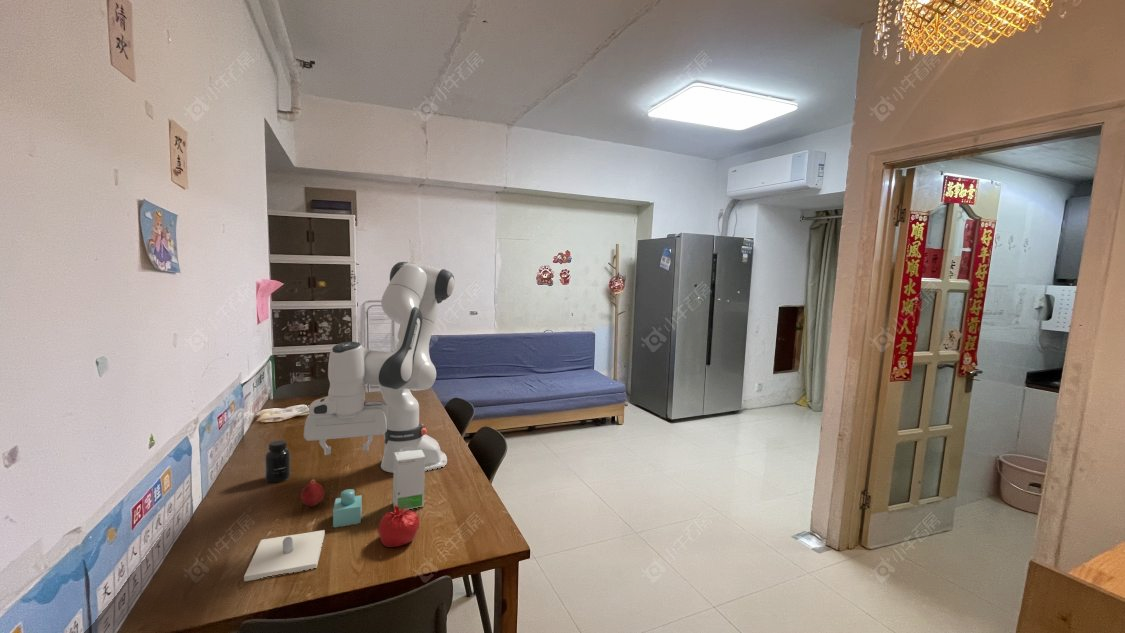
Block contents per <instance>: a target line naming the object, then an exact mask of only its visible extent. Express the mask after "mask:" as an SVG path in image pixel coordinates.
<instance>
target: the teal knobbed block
mask: <svg viewBox="0 0 1125 633" xmlns="http://www.w3.org/2000/svg"><path fill="white" fill-rule="evenodd" d="M355 492H356V491H355V489H353V488H352V489H351V488H350V489H349V488H348V489H344V490H342V491H341V492H340V497H337V498H335V501H334V504H333V509H332V525H333V526H332V527H334V528H340V527H345V526H344V525H347V526H351V524H354V525H358V524H357V523H360V524H361V520H362V511H363V509H362V508H363V506H362V502H363V500H362V499H363V497H362V494H360V495H355ZM339 526H340V527H339Z"/></svg>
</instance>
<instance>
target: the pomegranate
mask: <svg viewBox="0 0 1125 633" xmlns="http://www.w3.org/2000/svg"><path fill="white" fill-rule="evenodd" d="M405 507H407V506H405ZM405 507H403V508H402V509H401V510H399V506H397V505H396V506H395V507H394V506H393V511H389V512H386V513H384V515H383V517H382V518H381V519H380V521H379V523H378V527H377V532H378V536H379V538H380V541H381V543H382V545H383V546H385V547H387V548H388V547H389V548H393V547H400V546H403V545H407V544H409V543H410V542H412V541H413V540H414V539H415V537H416V536H417V533H418V531H419V528H420V516H419V515H418V514H417V513H416V512H415V511H414V510H404V508H405Z"/></svg>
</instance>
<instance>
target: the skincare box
mask: <svg viewBox="0 0 1125 633" xmlns="http://www.w3.org/2000/svg"><path fill="white" fill-rule="evenodd" d="M425 473H426V471H425V455H424V453H423V451H422V450H413V451H404V452H395V453H394V473H393V477H392V478H393V482H392V483H393V484H392V504H393V507H395V506H396V505H397V506H399V510H401V509H402V508H403V507H405V506H407V507H405V508H404V510H407V509H408V510H409V509H412V508H417V507H421V506H424V507H425V481H426V480H425V476H426V475H425ZM417 509H418V508H417ZM412 510H413V509H412Z"/></svg>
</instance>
